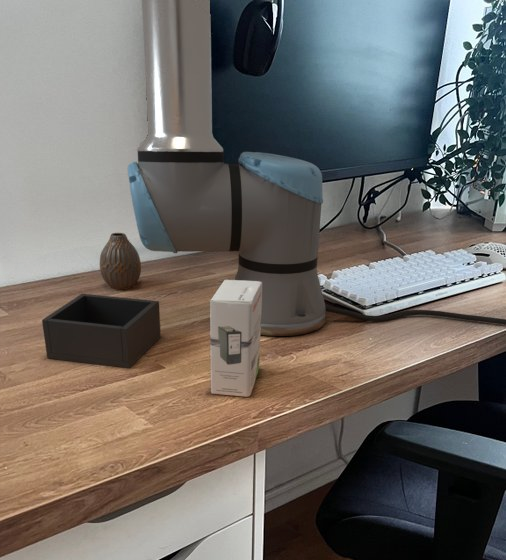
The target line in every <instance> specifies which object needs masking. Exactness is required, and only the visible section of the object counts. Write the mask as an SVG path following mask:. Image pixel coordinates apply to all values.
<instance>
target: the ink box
mask: <svg viewBox="0 0 506 560" xmlns="http://www.w3.org/2000/svg"><path fill="white" fill-rule="evenodd" d="M209 308H210V309H209V311H210V312H209V315H210V318H209V319H210V320H209V326H210V327H209V328H210V329H209V331H210V336H209V337H210V340H209V341H210V393H211V394H213V395H223V396H235V397H245V398H247V397H251V395H252V392H253V388H254V386H255V383H256V380H257V378H258V373H259V371H260V356H261V354H260V353H261V335H260V333H261V308H262V282H259V281H244V280H235V279H224V280H223V281H222V283H221V284H220V286H219V288H218V289H217V290H216V292H215V293H214V295H213V296H212V298H211V299H210V300H209Z"/></svg>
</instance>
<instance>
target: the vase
mask: <svg viewBox="0 0 506 560" xmlns="http://www.w3.org/2000/svg"><path fill="white" fill-rule="evenodd" d="M141 262H142V261H141V257H140V255H139V252H138V250H137V249H136V248H135V246H134V245H133V243H131V241H130V239H128V236H127V235H126V233H124V232H114V233H113V232H112V233H111V234H110V236H109V239H108V241H107V242H106V243H105V245H104V247H103V248H102V250H101V252H100V257H99V270H100V271H99V272H100V275H101V277H102V279H103V281H104V283H106V285H107V286H108V287H110V288H112V289H115V290H127V289H131V288H133V287H135V286H136V284H137V283H138V281H139V280H140V277H141V273H142V263H141Z"/></svg>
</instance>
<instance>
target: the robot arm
mask: <svg viewBox="0 0 506 560" xmlns="http://www.w3.org/2000/svg"><path fill="white" fill-rule="evenodd" d="M141 10H142V32H143V35H142V36H143V54H144V56H143V57H144V74H145V77H144V79H145V78H146V100H147V121H148V135H147V137H146V139H145V140H144V141H143V142H141V143H140V144H139V146H138V147H137V149H136V150H137V161H132V162H131V163H129V164H128V165H127V176H128V182H129V189H130V196H131V201H132V202H131V203H132V207H133V212H134V218H135V222H136V227H137V233H138V235H139V239H140V242H141V244H142V246H143V247H144V248H146V249H147V250H148V251H151V252H162V253H163V252H164V253H165V252H166V253H173V254H178V253H181V252H182V253H183V252H186V253H188V252H192V253H193V252H197V253H198V252H200V253H201V252H202V253H203V252H206V253H207V252H223V253H225V252H238V267H237V271H236V275H235V278H234V280H244V281H259V282H262V308H261V333H260V336H270V337H271V336H272V337H290V336H299V335H304V334H308V333H312V332H315V331H317V330H319V329H321V328H322V327H323V326H324V325H325V323H326V318H327V317H326V316H327V315H326V314H327V312H328V313H333V314H339V315H344V316H348V317H352V318H354V319H358V320H363V321H367V322H383V321H391V320H394V319H398V318H402V317H409V316H429V317H431V316H432V317H440V318H448V319H455V320H463V321H471V322H481V323H490V324H495V325H496V324H497V325H505V326H506V318H499V317H498V318H497V317H491V316H483V315H482V316H481V315H475V314H465V313H457V312H450V311H442V310H434V309H433V310H432V309H407V310H402V311H397V312H393V313H389V314H382V315H370V314H364V313H360V312H357V311H353V310H349V309H345V308H340V307H335V306H330V305H326V303H325V298H324V295H323V290H322V287H321V282H320V279H319V275H318V259H319V257H318V256H319V244H320V230H321V219H322V218H321V216H322V204H323V203H324V198H323V174H322V171H321V170H320V168H319V167H318V166H317V165H315V164H314V163H312V162H309V161H306V160H303V159H299V158H297V157H296V158H295V157H291V156H286V155H280V154H275V153H268V152H259V151H255V152H253V151H243V152H241V153H240V155H239V157H238V158H237V159H238V162H237V163H225V162H224V161H225V157H224V156H225V152H224V148H223V146H222V145H221V144H220V143H219V142H218V141H217V140H216V139H215V137H214V135H213V103H212V102H213V99H212V98H213V97H212V96H213V95H212V93H213V91H212V36H211V35H212V33H211V14H210V0H141Z"/></svg>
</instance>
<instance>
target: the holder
mask: <svg viewBox="0 0 506 560" xmlns="http://www.w3.org/2000/svg"><path fill="white" fill-rule="evenodd" d="M160 316H161V315H160V301H159V300H151V299H140V298H130V297H121V296H113V295H112V296H110V295H102V294H101V295H100V294H92V293H91V294H90V293H81V294H79V295H78V296H76V297H74V298H73V299H71V300H70V301H68V302H67V303H65V304H64V305H62V306H60V307H59V308H58V309H56V310H54V311H53V312H52V313H50V314H49V315H47V316H46V317H44V318H42V320H41V321H42V322H41V323H42V332H43V339H44V345H45V353H46V358H47V359H50V360H58V361H69V362H76V363H83V364H93V365H99V366H101V365H102V366H108V367H109V366H110V367H117V368H125V369H131V367H132V366H133V365H134V364H136V362H137V361H138V360H139V359H140V358H141V357H142V356H143V355H144V354H145V353H146V352H148V350H149V349H150V348H151V347H153V345H154V344H156V342H157V341H159V339H160V338H161V337H162V336H161V317H160Z"/></svg>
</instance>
